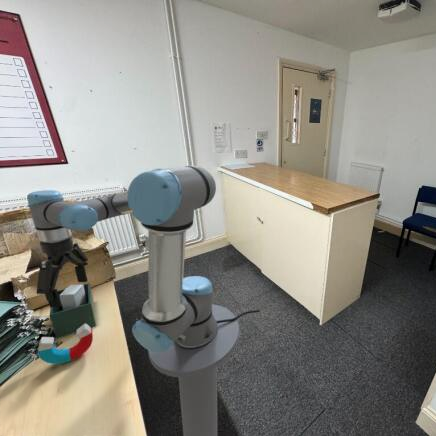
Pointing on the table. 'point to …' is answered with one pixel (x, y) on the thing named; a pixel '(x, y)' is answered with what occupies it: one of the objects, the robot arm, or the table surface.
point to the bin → (73, 315)
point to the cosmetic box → (73, 297)
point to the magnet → (64, 355)
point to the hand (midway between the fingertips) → (70, 293)
